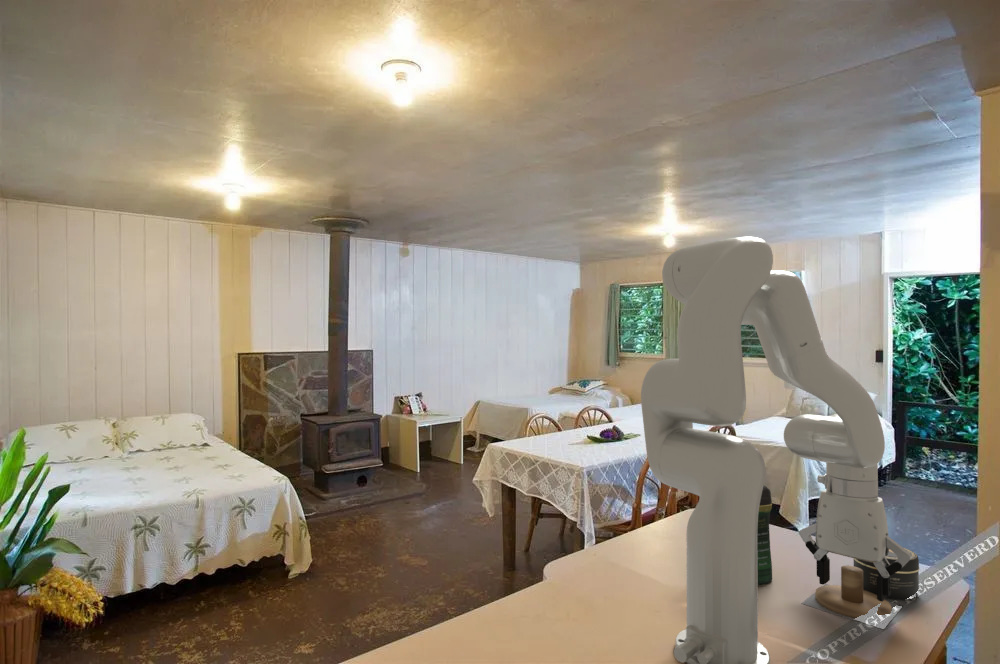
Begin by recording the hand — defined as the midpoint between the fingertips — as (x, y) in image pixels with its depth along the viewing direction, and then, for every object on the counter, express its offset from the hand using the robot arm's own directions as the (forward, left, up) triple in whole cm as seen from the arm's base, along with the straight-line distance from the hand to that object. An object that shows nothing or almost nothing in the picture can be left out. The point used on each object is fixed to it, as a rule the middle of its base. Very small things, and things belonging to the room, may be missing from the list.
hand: (852, 589), depth 97 cm
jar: (+12, -2, -3) cm, 13 cm away
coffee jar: (-1, +18, -3) cm, 18 cm away
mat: (0, 0, -3) cm, 3 cm away
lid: (0, 0, -2) cm, 2 cm away
